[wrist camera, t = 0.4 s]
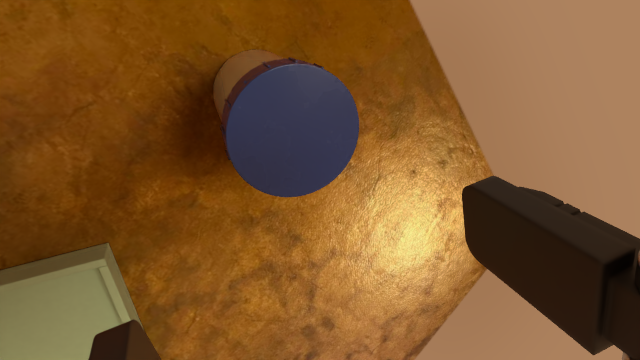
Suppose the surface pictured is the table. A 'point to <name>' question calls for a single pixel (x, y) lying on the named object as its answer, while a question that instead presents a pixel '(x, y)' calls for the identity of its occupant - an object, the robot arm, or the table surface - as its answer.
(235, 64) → the jar
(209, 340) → the table surface
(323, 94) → the lid
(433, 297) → the table surface
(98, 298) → the tray
